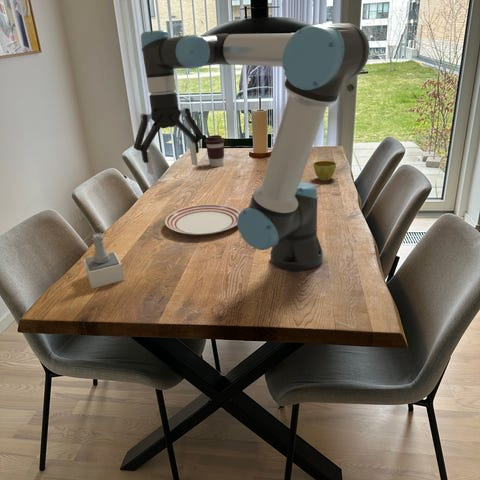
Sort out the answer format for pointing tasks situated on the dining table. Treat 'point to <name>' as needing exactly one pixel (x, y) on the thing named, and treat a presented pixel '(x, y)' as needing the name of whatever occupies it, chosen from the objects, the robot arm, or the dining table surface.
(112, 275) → the stand
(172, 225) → the dinner plate
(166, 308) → the dining table surface
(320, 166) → the flower pot
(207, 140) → the coffee cup
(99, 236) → the rook chess piece
